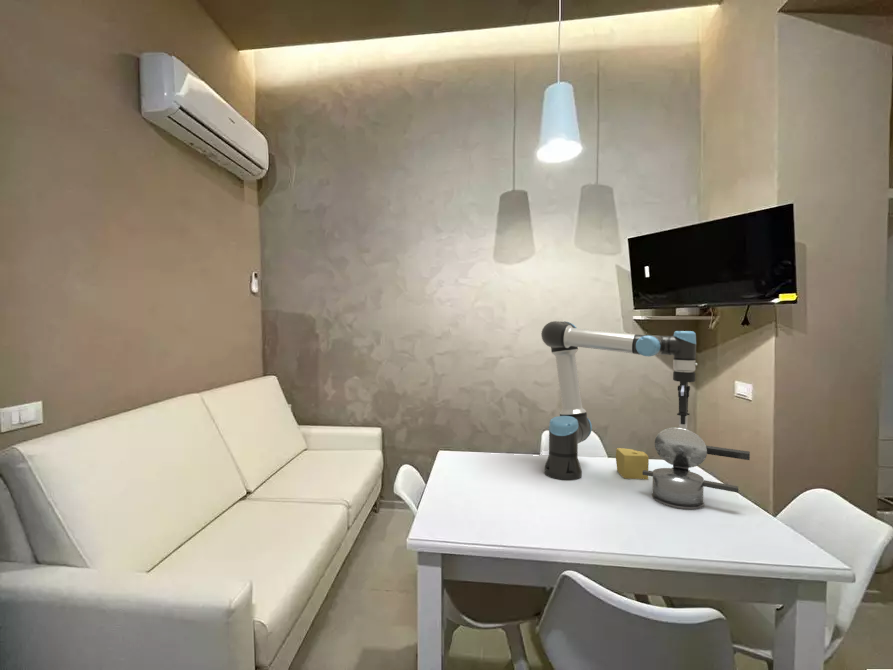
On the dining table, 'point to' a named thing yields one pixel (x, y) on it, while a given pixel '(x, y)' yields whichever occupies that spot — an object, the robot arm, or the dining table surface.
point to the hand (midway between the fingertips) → (682, 432)
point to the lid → (689, 448)
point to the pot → (681, 488)
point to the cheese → (631, 463)
